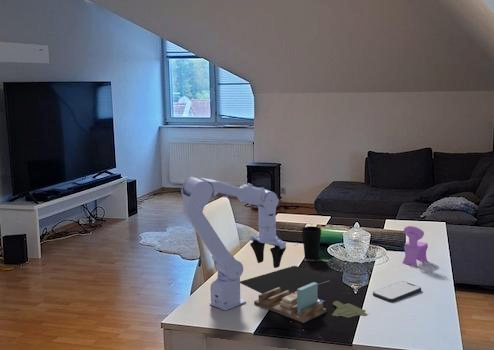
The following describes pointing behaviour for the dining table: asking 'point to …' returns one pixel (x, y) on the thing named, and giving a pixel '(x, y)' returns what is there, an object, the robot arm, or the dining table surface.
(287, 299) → the offcut top
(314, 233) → the cup
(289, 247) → the dining table surface
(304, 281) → the tablet
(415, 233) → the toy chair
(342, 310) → the olive flat irregular piece
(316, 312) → the rack
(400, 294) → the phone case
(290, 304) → the offcut low
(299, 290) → the board
